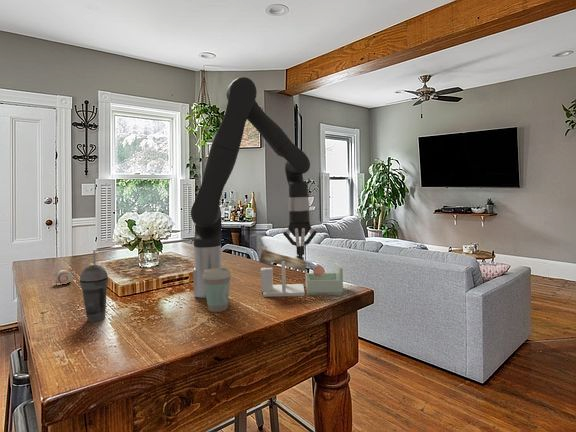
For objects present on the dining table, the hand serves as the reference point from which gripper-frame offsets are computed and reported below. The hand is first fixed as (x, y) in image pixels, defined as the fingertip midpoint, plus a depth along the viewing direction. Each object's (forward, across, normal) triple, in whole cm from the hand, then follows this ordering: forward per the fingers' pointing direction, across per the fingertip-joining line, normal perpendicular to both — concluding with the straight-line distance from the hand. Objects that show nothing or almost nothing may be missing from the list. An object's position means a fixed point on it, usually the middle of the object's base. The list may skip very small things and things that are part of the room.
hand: (300, 256), depth 135 cm
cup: (+11, +8, -7) cm, 15 cm away
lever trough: (+3, -7, -4) cm, 9 cm away
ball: (+4, +6, -7) cm, 10 cm away
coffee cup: (+11, -26, -25) cm, 38 cm away
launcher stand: (+11, -7, -7) cm, 15 cm away
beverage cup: (+11, -60, -32) cm, 69 cm away
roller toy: (+10, -96, +12) cm, 98 cm away
